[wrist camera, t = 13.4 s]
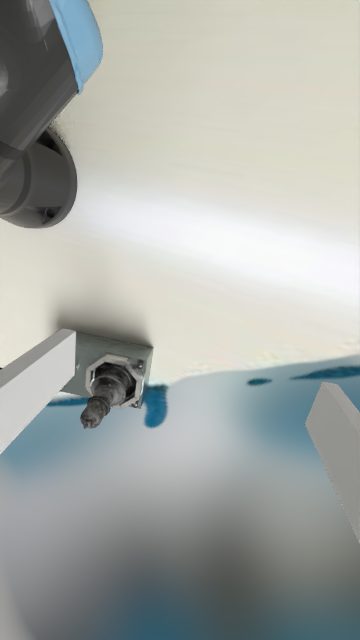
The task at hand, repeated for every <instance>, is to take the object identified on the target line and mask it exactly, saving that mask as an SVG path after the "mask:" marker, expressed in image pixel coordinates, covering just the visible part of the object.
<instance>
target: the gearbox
mask: <svg viewBox="0 0 360 640" xmlns="http://www.w3.org/2000/svg"><path fill="white" fill-rule="evenodd" d="M152 354H153V347H148V346H143V345H138V344H133V343H128V342H123V341H119V340H114V339H109V338H104V337H99V336H94V335H89V334H84V333H80V332H76V346H75V375H74V376H73V377H72V378H71V379H70V380H69V381H68V382H67V383H66V384H65V386H64V387H63V388H62V389H61V390H60V391H62V392H67V393H71V394H76V395H80V396H85V397H92V396H93V395H92V393H91V384H92V382H93V381H94V380H95V379H96V378H97V377H99V376H101V374H102V372H103V371H104V370H105V369H106V368H108V367H111V366H116V367H120V368H122V369H123V370H125V371H126V372H127V373H128V375H129V377H130V386H129V388H128V389H127V390H126V396H125V399H124V401H123V402H122V403H121V404H119V405H117V406H113V407H112V408H117V409H121V408H122V409H124V408H125V407H127V406H131V407H134V408H141V406H142V404H143V401H144V399H145V396H146V394H147V389H148V382H149V375H150V368H151V361H152ZM110 407H111V406H110Z"/></svg>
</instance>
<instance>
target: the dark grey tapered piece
mask: <svg viewBox="0 0 360 640" xmlns="http://www.w3.org/2000/svg"><path fill="white" fill-rule="evenodd" d="M129 386H130V377H129V375H128V373H127V372H126V371H125V370H123V369H122V368H120V367H116V366H111V367H108V368H106V369H105V370H104V371H103V372H102V374H101V376H99V377H97V378H96V379H95V380H94V381H93V382H92V384H91V393H92V395H93V396H92V397H90V398H89V399H88V401H87V407H86V408H85V410H84V411H83V412H82V414H81V417H80V419H81V422H82V424H83V426H84V428H85V429H86V428H95V427H97V426H98V425H99V424H100V422H101V421H102V419H103V417H104V416H105V415H107V414H108V413H109V412H110V406H111V407H113V406H117V405H119V404H121V403H122V402H123V401H124V399H125V396H126V390H127V389H128V388H129Z"/></svg>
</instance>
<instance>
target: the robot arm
mask: <svg viewBox="0 0 360 640" xmlns="http://www.w3.org/2000/svg"><path fill="white" fill-rule="evenodd" d="M102 56H103V43H102V38H101V33H100V30H99V27H98V24H97V22H96V19H95V17H94V14H93V12H92V10H91V7H90V5H89V3H88V1H87V0H0V218H2V219H4V220H6V221H8V222H10V223H12V224H14V225H17V226H20V227H24V228H47V227H51V226H53V225H55V224H57V223H59V222H60V221H62V220H63V219H64V218H65V217H66V216H67V214H68V213H69V212H70V210H71V208H72V206H73V204H74V201H75V197H76V192H77V175H76V169H75V165H74V162H73V160H72V157H71V155H70V153H69V151H68V149H67V148H66V146H65V144H64V143H63V142H62V140H61V139H60V138H59V137H58V136H57V135H56V134H55V133H54V132H53V131H51V130H50V129H49V128H47V127H48V126H49V125H50V124H51V123H52V122H53V120H54V119H55V118H56V117H57V116H58V115H59V113H60V112H61V111H62V110H63V109H64V108H65V106H66V105H67V104H68V103H69V102H70V101H71V100H72V98H73V97H74V96H75V95H76V94H78V95H79V94H80V93H81V92H82V90H83V85H84V84H85V83H86V82H87V80H88V79H89V78H90V76H91V75H92V74H93V73H94V71H95V70H96V69H97V67H98V66H99V64H100V62H101V60H102ZM75 346H76V331H74V330H69V329H64V328H62V329H60V330H59V331H57V332H56V333H55V334H53V335H52V336H50V337H49V338H47V339H46V340H44V341H43V342H41V343H40V344H38V345H37V346H35V347H34V348H32V349H31V350H29V351H28V352H26V353H25V354H23V355H22V356H20V357H19V358H17V359H16V360H14V361H13V362H11V363H10V364H8V365H7V366H6V367H4V368H0V454H1V452H3V451H4V450H5V448H6V447H7V446H8V445H9V444H10V443H11V442H12V441H13V440H14V439H15V438H16V437H17V436H18V435H19V433H20V432H21V431H22V430H23V429H24V428H25V427H26V426H27V425H28V424H29V423H30V422H31V421H32V419H34V418H35V416H36V415H37V414H38V413H39V412H40V411H41V410H42V409H43V408H44V407H45V406H46V405H47V404H48V403H49V402H50V400H51V399H52V398H53V397H54V396H55V395H56V394H57V393H58V392H59V391H60V390H61V389H62V388H63V387H64V386H65V384H66V383H67V382H68V381H69V380H70V379H71V378H72V377H73V376H74V375H75ZM305 425H306V428H307V430H308V432H309V434H310V436H311V438H312V441H313V443H314V445H315V447H316V450H317V452H318V454H319V456H320V458H321V460H322V463H323V465H324V467H325V469H326V471H327V473H328V476H329V478H330V480H331V482H332V484H333V487H334V489H335V491H336V493H337V495H338V497H339V500H340V502H341V504H342V506H343V508H344V511H345V513H346V515H347V517H348V519H349V522H350V524H351V526H352V528H353V530H354V532H355V534H356V537H357V539H358V541H359V543H360V413H359V411H358V410H357V409H356V408H355V406H354V405H353V404H352V402H351V401H350V400H349V399H348V397H347V396H346V395H345V393H344V392H343V391H342V390H341V388H340V387H339V386H338V385H337V384H332V383H327V382H322V384H321V386H320V389H319V391H318V394H317V396H316V398H315V401H314V403H313V406H312V408H311V411H310V413H309V415H308V418H307V421H306V423H305Z"/></svg>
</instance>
